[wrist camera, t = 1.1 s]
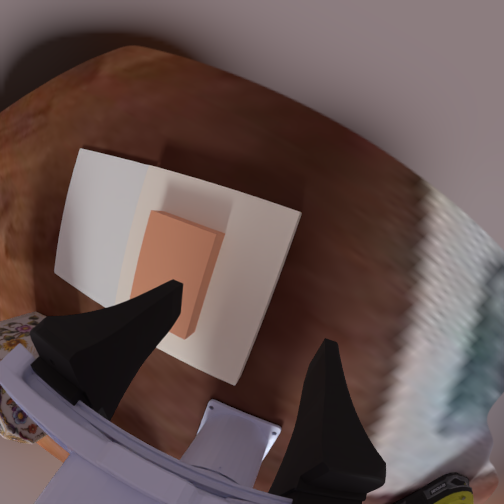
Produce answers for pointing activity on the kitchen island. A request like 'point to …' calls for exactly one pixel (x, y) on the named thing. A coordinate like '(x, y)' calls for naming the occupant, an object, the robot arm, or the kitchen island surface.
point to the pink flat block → (178, 263)
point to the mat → (98, 223)
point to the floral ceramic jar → (3, 407)
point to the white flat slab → (218, 265)
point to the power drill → (443, 492)
